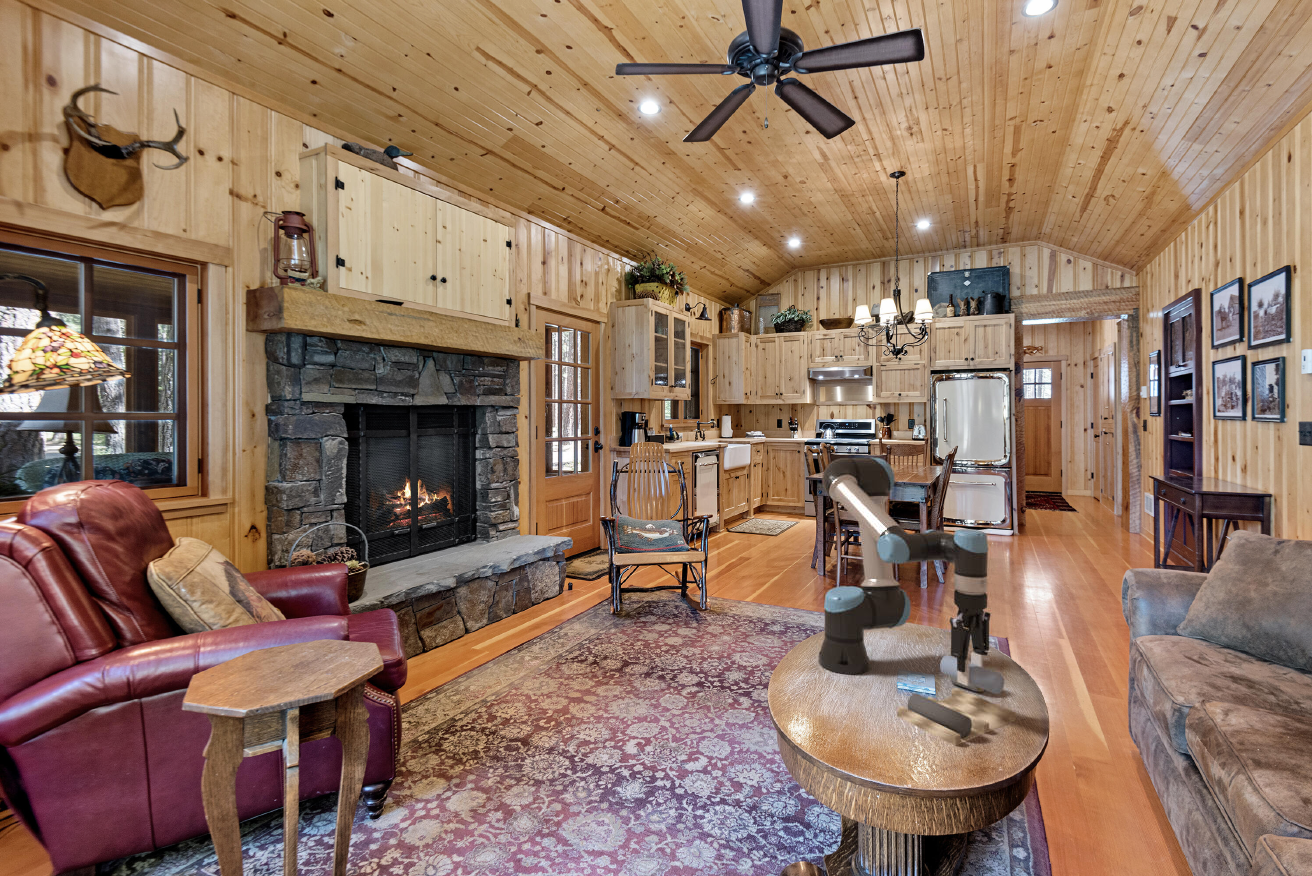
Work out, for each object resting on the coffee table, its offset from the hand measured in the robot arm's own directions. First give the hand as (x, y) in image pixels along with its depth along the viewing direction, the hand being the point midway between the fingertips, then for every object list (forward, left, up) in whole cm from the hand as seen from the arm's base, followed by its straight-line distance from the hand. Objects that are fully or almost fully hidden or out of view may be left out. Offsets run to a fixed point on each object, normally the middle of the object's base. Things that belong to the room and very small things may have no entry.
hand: (970, 681), depth 152 cm
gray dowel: (0, 0, -1) cm, 1 cm away
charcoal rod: (0, -13, -8) cm, 15 cm away
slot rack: (0, -5, -9) cm, 10 cm away
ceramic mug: (-11, +17, -9) cm, 22 cm away
